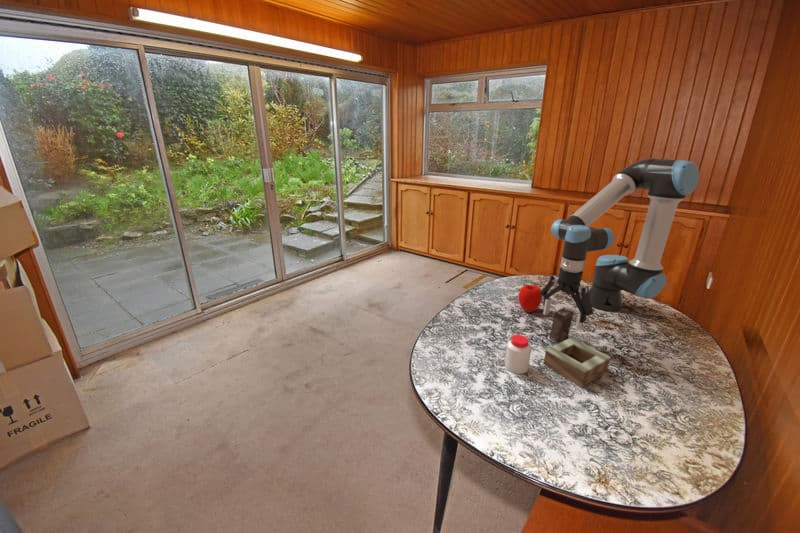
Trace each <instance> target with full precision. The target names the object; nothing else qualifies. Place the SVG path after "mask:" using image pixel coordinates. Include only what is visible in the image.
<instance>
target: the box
mask: <svg viewBox="0 0 800 533" xmlns="http://www.w3.org/2000/svg"><path fill="white" fill-rule="evenodd" d="M553 314H554V315H553V320H552V325H551V330H550V334H549V339H550V341H553V342H555V343H557V344H558V343H560V342H563V341H565V340H567V339H569V334H570V330H571V324H572V322H573V316H574V311H572V310H570V309H568V308H565V307H562V308H560V309H558V310H557V311H555V312H554V313H553Z"/></svg>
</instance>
